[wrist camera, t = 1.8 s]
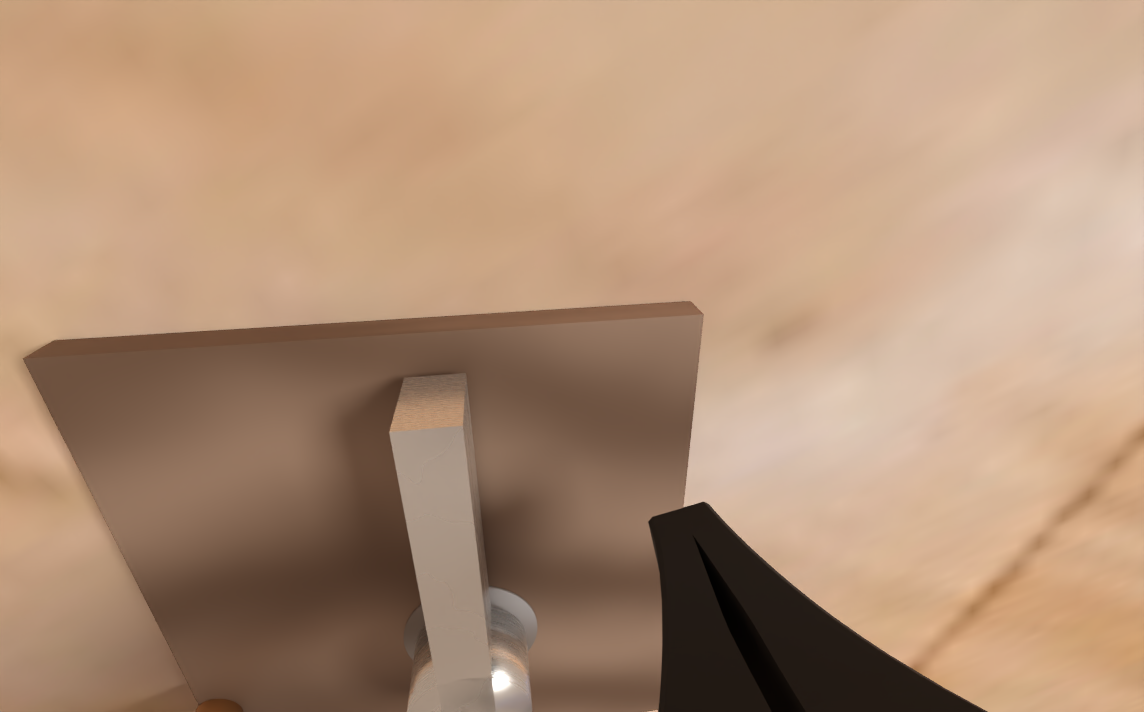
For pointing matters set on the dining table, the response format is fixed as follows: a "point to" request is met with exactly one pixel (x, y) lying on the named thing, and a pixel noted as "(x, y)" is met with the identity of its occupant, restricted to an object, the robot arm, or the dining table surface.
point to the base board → (386, 494)
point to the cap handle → (452, 559)
